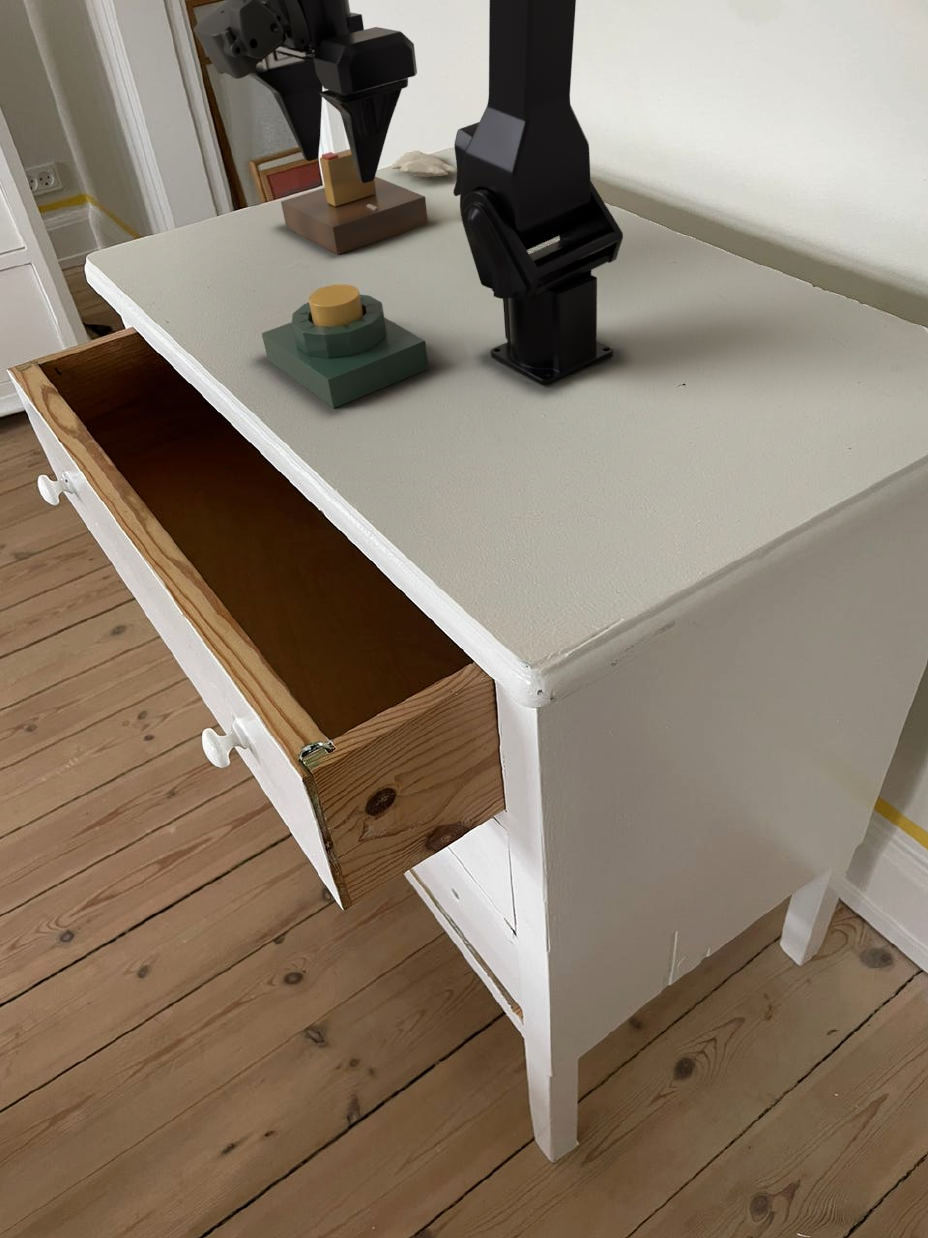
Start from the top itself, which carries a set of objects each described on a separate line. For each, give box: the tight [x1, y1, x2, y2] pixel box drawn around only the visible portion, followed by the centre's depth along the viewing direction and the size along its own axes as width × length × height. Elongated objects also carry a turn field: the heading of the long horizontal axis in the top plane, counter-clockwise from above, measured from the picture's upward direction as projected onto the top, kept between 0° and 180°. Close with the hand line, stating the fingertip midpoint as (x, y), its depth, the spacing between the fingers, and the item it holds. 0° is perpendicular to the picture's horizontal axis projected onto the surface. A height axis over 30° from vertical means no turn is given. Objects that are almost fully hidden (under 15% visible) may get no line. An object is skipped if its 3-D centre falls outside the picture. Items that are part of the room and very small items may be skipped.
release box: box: [261, 294, 429, 409], centre depth 70 cm, size 10×8×4 cm
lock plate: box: [280, 175, 429, 255], centre depth 92 cm, size 10×10×3 cm
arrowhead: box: [390, 150, 457, 178], centre depth 103 cm, size 7×2×10 cm
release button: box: [308, 284, 363, 327], centre depth 69 cm, size 4×4×2 cm
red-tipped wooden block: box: [319, 148, 376, 207], centre depth 90 cm, size 4×2×4 cm, turn 125°
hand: (338, 170), depth 78 cm, fingers open, 9 cm apart
